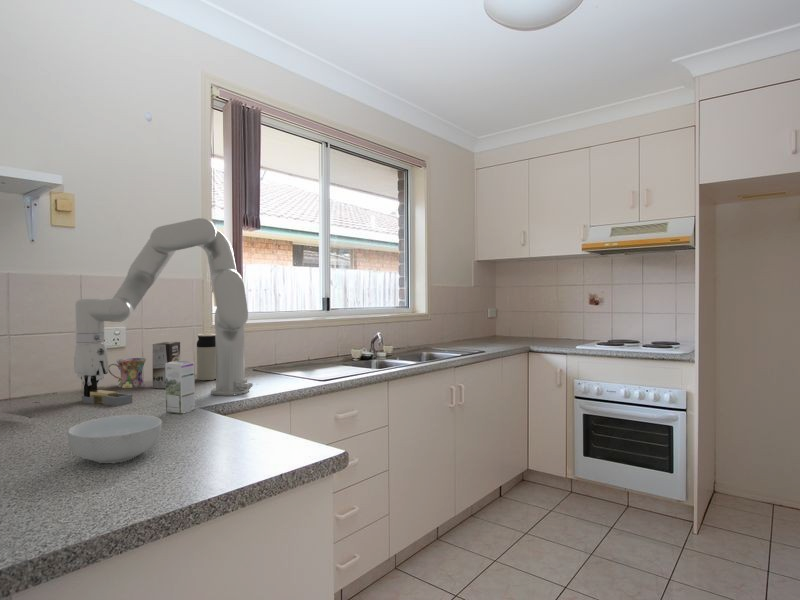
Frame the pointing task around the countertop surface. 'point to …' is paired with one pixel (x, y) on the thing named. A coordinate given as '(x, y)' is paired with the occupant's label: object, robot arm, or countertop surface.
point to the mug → (130, 372)
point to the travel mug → (206, 357)
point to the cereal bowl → (114, 437)
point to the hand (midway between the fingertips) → (90, 397)
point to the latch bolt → (101, 395)
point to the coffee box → (163, 361)
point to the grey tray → (111, 399)
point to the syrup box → (180, 386)
